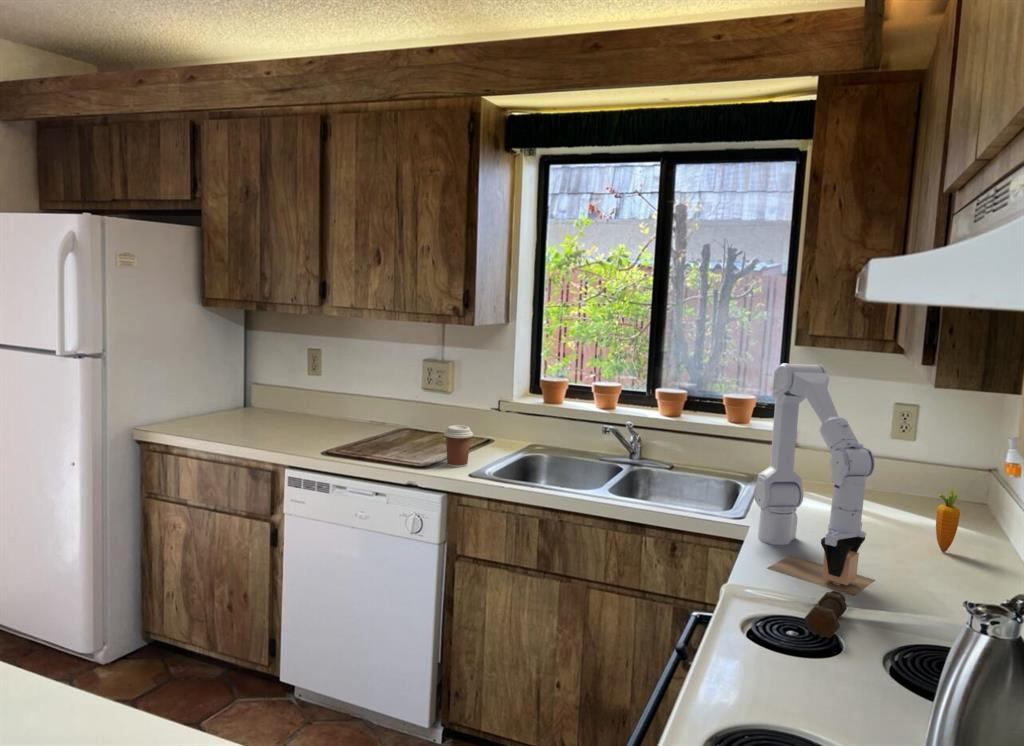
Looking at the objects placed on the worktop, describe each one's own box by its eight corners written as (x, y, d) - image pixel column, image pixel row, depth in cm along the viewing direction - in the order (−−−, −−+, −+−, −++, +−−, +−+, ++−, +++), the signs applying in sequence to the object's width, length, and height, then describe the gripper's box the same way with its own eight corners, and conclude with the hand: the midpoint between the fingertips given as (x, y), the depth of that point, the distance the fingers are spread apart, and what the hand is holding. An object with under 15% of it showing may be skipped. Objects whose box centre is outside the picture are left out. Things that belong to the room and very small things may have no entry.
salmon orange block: (831, 571, 159) (834, 545, 158) (856, 579, 155) (859, 552, 154) (821, 577, 155) (824, 550, 154) (847, 585, 152) (850, 557, 151)
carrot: (948, 557, 178) (956, 495, 176) (927, 550, 182) (934, 489, 180) (959, 554, 181) (967, 492, 179) (938, 547, 185) (946, 487, 183)
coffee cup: (460, 460, 246) (462, 423, 245) (477, 466, 239) (479, 428, 237) (437, 463, 240) (438, 425, 239) (453, 469, 233) (454, 431, 232)
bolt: (838, 618, 147) (823, 645, 134) (816, 599, 149) (798, 624, 136) (858, 597, 145) (844, 622, 132) (834, 578, 147) (819, 601, 134)
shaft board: (789, 561, 170) (791, 539, 170) (874, 586, 158) (876, 563, 158) (765, 574, 162) (768, 552, 161) (853, 602, 149) (856, 578, 149)
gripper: (854, 519, 145) (846, 587, 147) (880, 505, 156) (872, 568, 157) (817, 510, 150) (810, 576, 152) (844, 496, 160) (837, 558, 162)
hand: (839, 571), depth 155 cm, fingers closed on salmon orange block, 5 cm apart
